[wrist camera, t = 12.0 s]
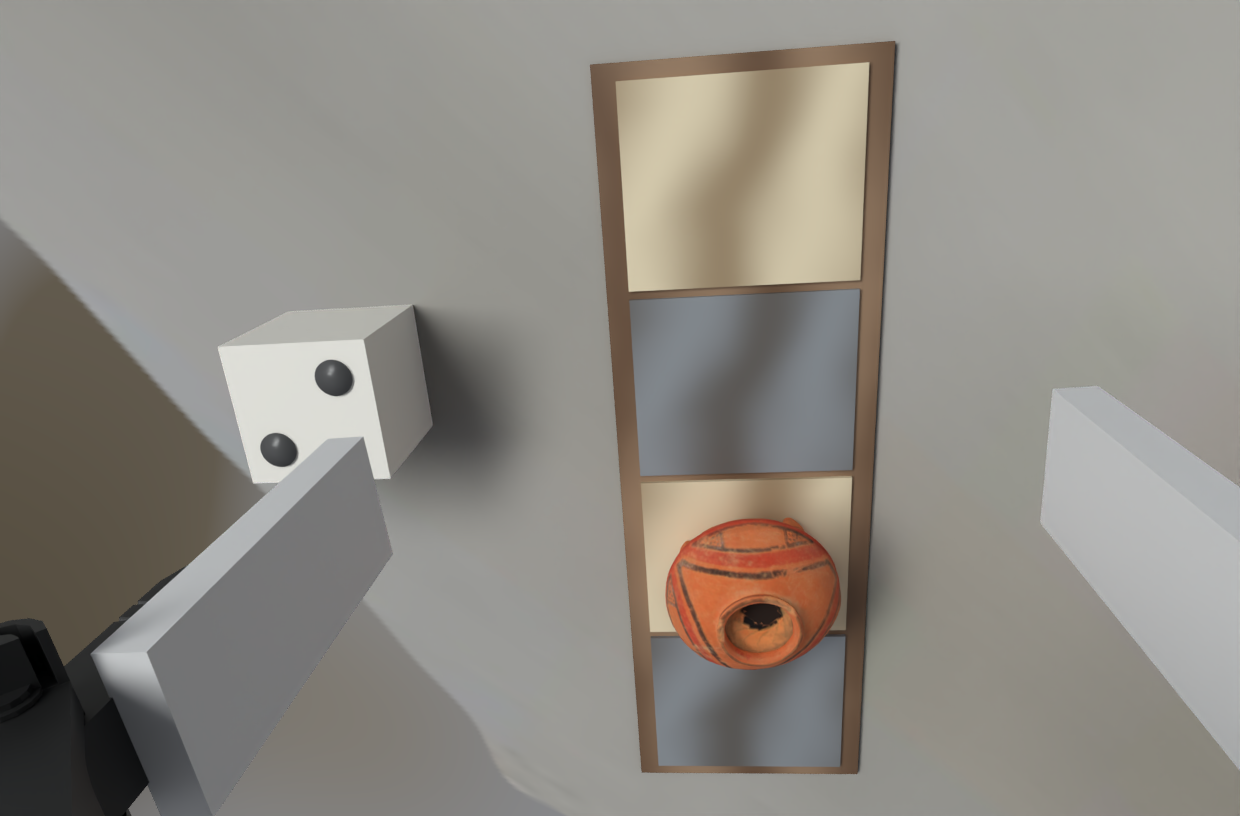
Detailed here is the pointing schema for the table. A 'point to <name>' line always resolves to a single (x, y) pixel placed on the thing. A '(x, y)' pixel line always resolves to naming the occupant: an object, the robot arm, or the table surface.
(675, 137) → the board
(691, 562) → the pot
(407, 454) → the die
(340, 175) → the table surface
